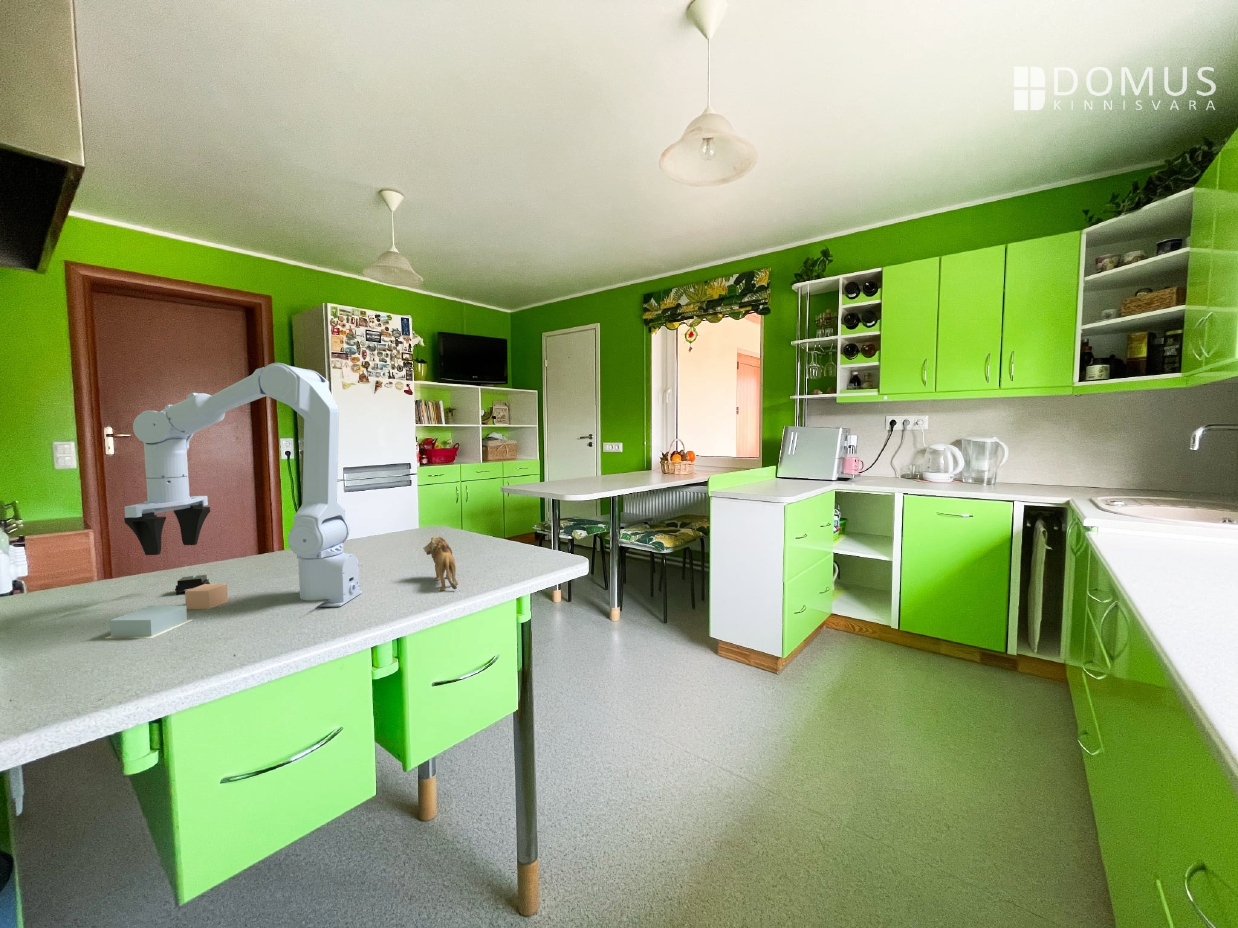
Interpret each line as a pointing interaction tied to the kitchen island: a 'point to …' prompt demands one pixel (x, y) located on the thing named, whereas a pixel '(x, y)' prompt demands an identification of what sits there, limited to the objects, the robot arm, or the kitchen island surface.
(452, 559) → the lion figurine
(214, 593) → the top block
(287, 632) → the kitchen island surface
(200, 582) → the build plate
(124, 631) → the base block
